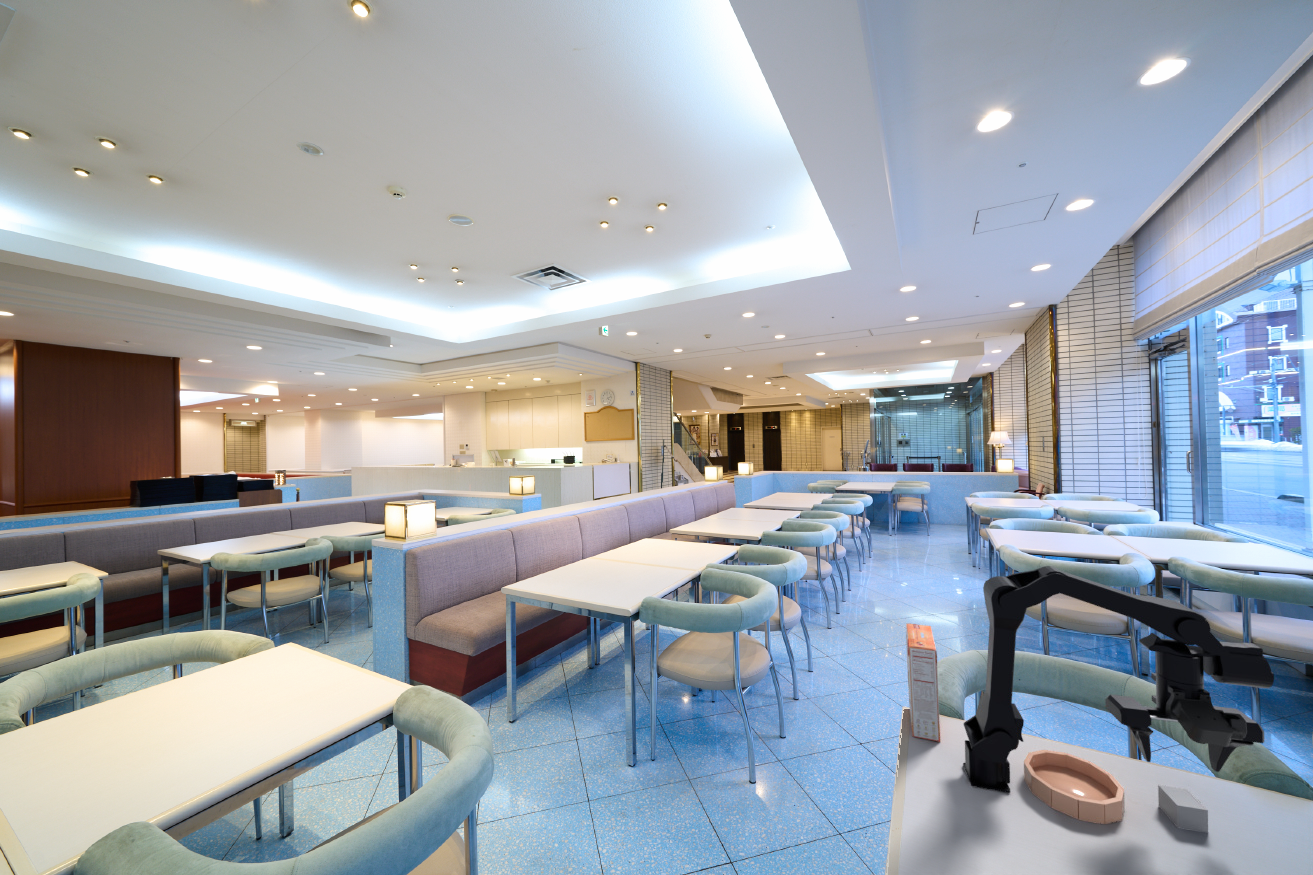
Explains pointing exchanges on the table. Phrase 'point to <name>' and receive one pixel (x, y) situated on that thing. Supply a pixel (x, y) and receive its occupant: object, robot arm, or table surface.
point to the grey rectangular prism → (1183, 808)
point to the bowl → (1074, 786)
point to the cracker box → (923, 682)
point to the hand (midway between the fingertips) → (1180, 765)
